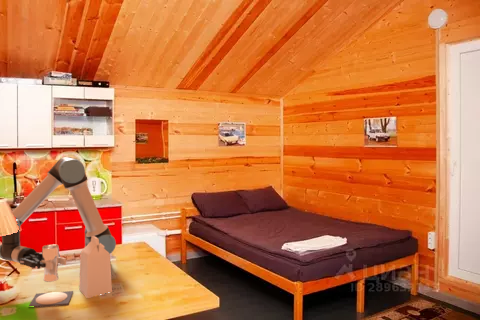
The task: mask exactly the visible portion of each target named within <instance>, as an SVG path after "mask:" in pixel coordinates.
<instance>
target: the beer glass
mask: <svg viewBox="0 0 480 320" xmlns="http://www.w3.org/2000/svg"><path fill="white" fill-rule="evenodd" d="M41 248H42V251H41V253H42V260H43V261H47V262H51V263H52V268H53V269H47V268H43V270H44V275H43V281H44V282H46V283H51V282H55V281H56V282H57V281H58V280H59V272H58V269H59V268H58V267H59V263H58V262H59V254H60V248H59V245H58V244H47V245H46V244H45V245H43V246H42V247H41Z"/></svg>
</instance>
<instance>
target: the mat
mask: <svg viewBox="0 0 480 320" xmlns="http://www.w3.org/2000/svg"><path fill="white" fill-rule="evenodd" d="M73 294H74V290H69V291H68V290H67V291H52V292H41V293H35V294H34V296H33V298H32V299H31V301H30V303H29V305H28V306H34V307H36V308H46V307H47V308H48V307H63V306H69V304H70V302H71V299H72V297H73Z"/></svg>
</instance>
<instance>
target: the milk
mask: <svg viewBox="0 0 480 320" xmlns="http://www.w3.org/2000/svg"><path fill="white" fill-rule="evenodd" d="M104 247H105V246H103V245H102V244H101V243H100V244H99V239H98V238H97V237H95V236H91V242H90V243H89V244H88V245H87V246H86V247H85V246H84V247H83V249H82V250H81V252H80V259H79V260H80V261H79V285H78V288H79V290H78V291H80V292H81V293H82V294H83V295H84V296H85V298H86V299H89V298H94V297H93V296H95V297H97V296H96V295H99V296H101V295H100V294H103V295H105V294H104V293H108V292H112V293H113V288H112V286H113V285H112V270H111V269H112V267H111V264H112V263H111V264H110V261H111V254H109V252H108V251H106V250H105V249H104ZM108 294H109V293H108Z"/></svg>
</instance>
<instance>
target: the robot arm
mask: <svg viewBox="0 0 480 320" xmlns="http://www.w3.org/2000/svg"><path fill="white" fill-rule="evenodd" d="M46 175H47V176H45V177H44V178H43V180H41V182H40V183H39V184H38V185H37V186H36V187H34V189H33V190H32V191H31V192H30V193H29V194H28V195H27V196H26V197H25V198H24V199H23V200H22V201H20V203H19V204H18V205H17V206H16V208H14V209H13V210H12V212H13V214H14V216H15V217H16V221H17V223H18V224H17V225H18V226H19V230H20V229H21V225H22V224H24V222H25V221H26V220H27V219H28V218H29V217H30V216H31V215H32V214H33V213H34V212H35V211H36V210H37V209H38V207H40V206H41V205H42V204H43V202H45V200H47V198H48V197H49V196H50V195H51V194H52V193H53V192H54V191H55V190H56V189H57V188H58V187H59V186H61V185H62V186H63V187H64V189H66V190H68V191H69V192H70V195H71V197H72V199H73V201H74V204H75V206H76V208H77V210H78V212H79V215H80V218H81V220H82V223H83V225H84V226H85V228H84V248H85V247H86V246H87V245H88V244H89V243H90V242H91V236H95V237H97V238H98V239H99V244H100V243H101V244H102V245H103V246H105V247H104V249H105V250H106V251H108V252H109V254H110V255H111V254H112V253H113V252H114V251H115V248H116V245H117V243H116V242H117V241H116V239H115V237H114V236H113V235H112V233H111V230H110V229H109V226H108V225H107V224H105V223H104V222H103V220H102V217H101V215H100V212H99V210H98V208H97V205H96V203H95V200H94V199H93V196H92V194H91V191H90V189H89V187H88V184H87V183H88V180H89V179H88V176H87V175H86V170H85V165H84V164H83V163H82V162H81V161H80V160H79V159H77V158H74V157H70V156H64V157H62V158H61V157H60V159H58V160H57V161H56V162H55V164H53V166H52V167H51V168H50V169H49V170H48V172H47V174H46ZM19 230H18V232H17V233H13V234H11V235H6V236H2V235H1V240H2V242H1V244H0V258H1V259H3V260H5V261H10V262H11V261H12V262H14V263H18V264H20V265H22V266H26V267H29V268H32V269H35V268H36V267H37V269H38V270H40V269H41V268H43V269H44V268H47V269H53V268H52V263H51V262H47V261H43V260H42V252H37V251H36V249H34V248H32V247H27V246H23V245H21V240H20V239H21V238H20V237H21V230H20V231H19ZM59 264H60V265H67V258H66V257H61V255H60V253H59V262H58V265H59ZM110 264H112V263H111V260H110Z"/></svg>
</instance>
